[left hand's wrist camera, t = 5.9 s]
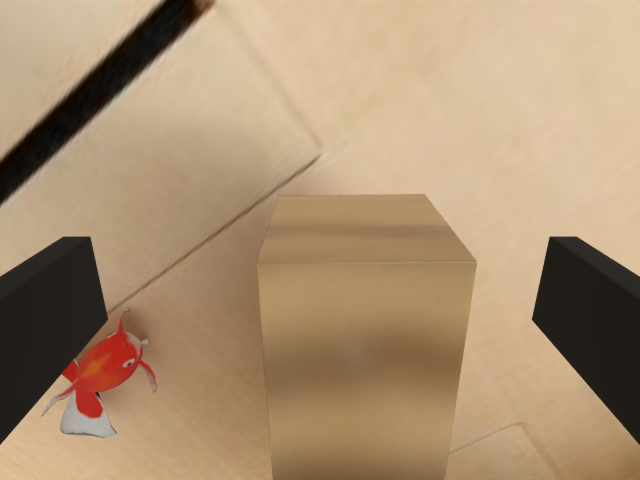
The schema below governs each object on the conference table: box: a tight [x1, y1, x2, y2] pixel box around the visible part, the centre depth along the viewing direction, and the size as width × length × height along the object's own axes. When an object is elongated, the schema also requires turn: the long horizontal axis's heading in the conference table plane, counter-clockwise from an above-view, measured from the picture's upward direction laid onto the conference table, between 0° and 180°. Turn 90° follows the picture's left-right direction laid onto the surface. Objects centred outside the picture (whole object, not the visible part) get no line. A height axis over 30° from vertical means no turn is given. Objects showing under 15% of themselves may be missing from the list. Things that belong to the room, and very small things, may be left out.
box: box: [256, 194, 477, 480], centre depth 25 cm, size 25×9×9 cm, turn 1°
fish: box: [41, 308, 157, 438], centre depth 39 cm, size 11×16×10 cm
